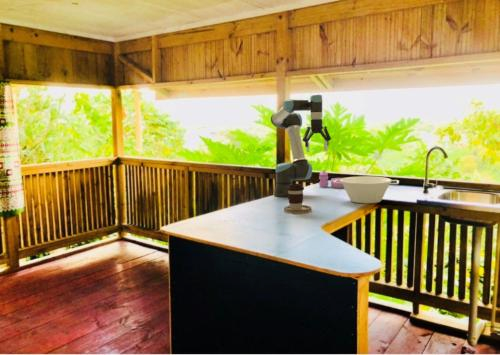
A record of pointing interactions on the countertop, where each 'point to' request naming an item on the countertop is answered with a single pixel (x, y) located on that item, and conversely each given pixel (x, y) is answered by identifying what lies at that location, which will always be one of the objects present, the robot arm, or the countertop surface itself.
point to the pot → (366, 188)
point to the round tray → (304, 210)
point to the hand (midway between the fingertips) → (317, 151)
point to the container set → (324, 182)
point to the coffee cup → (295, 196)
